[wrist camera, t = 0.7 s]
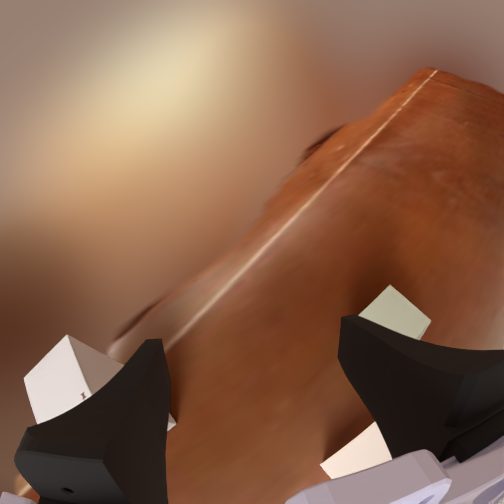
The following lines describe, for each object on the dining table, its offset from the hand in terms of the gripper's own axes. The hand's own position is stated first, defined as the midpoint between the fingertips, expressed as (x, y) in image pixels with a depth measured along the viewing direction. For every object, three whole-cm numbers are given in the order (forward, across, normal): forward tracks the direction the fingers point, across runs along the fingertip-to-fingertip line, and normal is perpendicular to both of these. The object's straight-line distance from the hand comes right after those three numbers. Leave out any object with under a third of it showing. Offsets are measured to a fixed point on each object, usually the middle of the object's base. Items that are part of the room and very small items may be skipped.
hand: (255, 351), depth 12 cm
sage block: (+12, -14, +10) cm, 21 cm away
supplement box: (+15, +11, +18) cm, 26 cm away
